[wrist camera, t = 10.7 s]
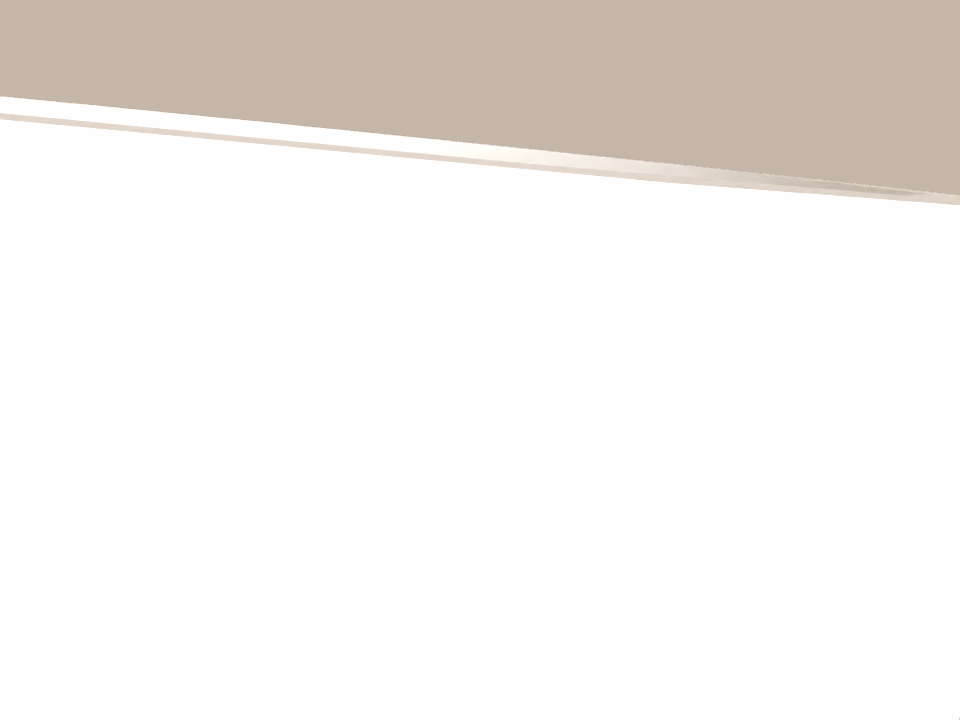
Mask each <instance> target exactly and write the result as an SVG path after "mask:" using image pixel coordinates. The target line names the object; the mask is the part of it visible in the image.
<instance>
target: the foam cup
mask: <svg viewBox="0 0 960 720" xmlns="http://www.w3.org/2000/svg"><path fill="white" fill-rule="evenodd" d="M959 715H960V196H959V195H949V194H942V193H933V192H925V191H916V190H908V189H899V188H891V187H882V186H872V185H863V184H854V183H844V182H835V181H825V180H817V179H807V178H798V177H790V176H779V175H771V174H762V173H753V172H744V171H743V172H742V171H734V170H725V169H715V168H706V167H697V166H696V167H695V166H686V165H677V164H667V163H658V162H648V161H639V160H630V159H620V158H610V157H600V156H591V155H582V154H572V153H562V152H553V151H543V150H533V149H523V148H512V147H504V146H493V145H484V144H474V143H465V142H455V141H445V140H435V139H424V138H415V137H405V136H395V135H386V134H375V133H366V132H356V131H346V130H336V129H326V128H316V127H306V126H296V125H286V124H275V123H266V122H256V121H245V120H235V119H225V118H215V117H205V116H195V115H184V114H174V113H164V112H153V111H144V110H133V109H124V108H112V107H103V106H93V105H83V104H72V103H62V102H52V101H42V100H31V99H20V98H10V97H1V96H0V720H958V719H959Z"/></svg>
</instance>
